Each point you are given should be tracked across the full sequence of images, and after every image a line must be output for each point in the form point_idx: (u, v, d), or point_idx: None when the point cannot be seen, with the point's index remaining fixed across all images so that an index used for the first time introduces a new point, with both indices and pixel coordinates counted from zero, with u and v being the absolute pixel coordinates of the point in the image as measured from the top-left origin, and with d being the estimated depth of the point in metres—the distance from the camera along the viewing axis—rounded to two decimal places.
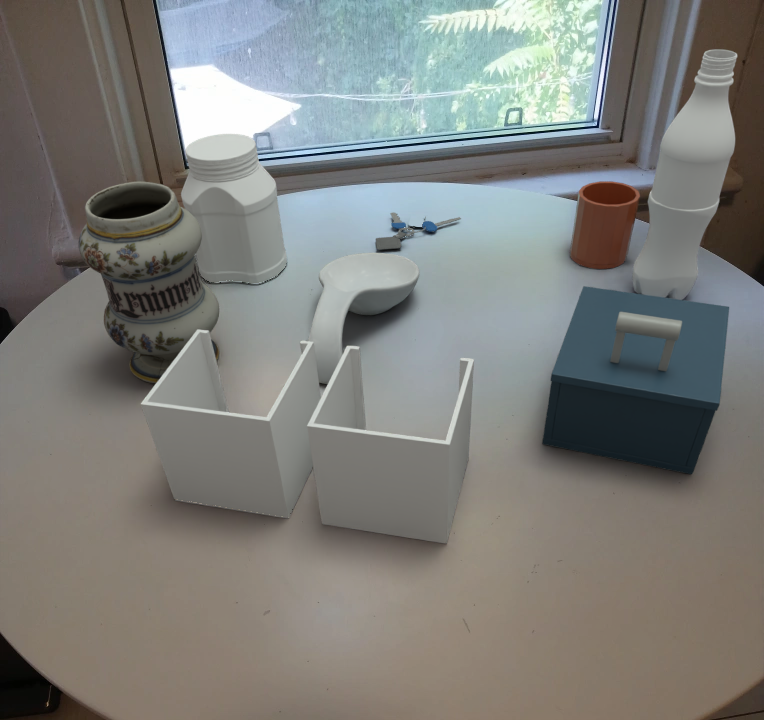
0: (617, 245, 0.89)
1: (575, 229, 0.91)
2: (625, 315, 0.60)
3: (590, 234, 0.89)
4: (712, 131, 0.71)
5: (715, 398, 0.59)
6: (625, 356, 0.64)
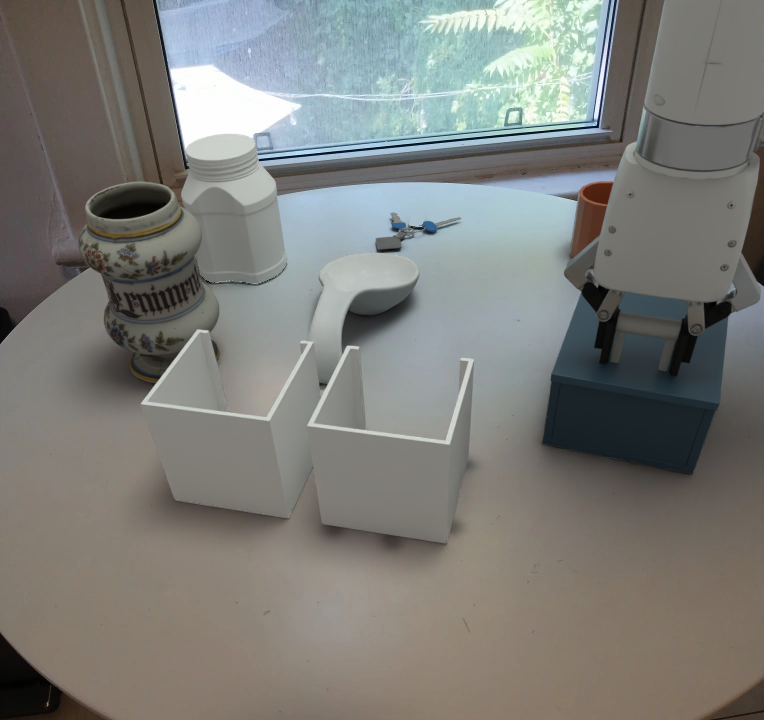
0: None
1: (575, 229, 0.91)
2: (625, 315, 0.60)
3: (590, 234, 0.89)
4: None
5: (715, 398, 0.59)
6: (625, 356, 0.64)
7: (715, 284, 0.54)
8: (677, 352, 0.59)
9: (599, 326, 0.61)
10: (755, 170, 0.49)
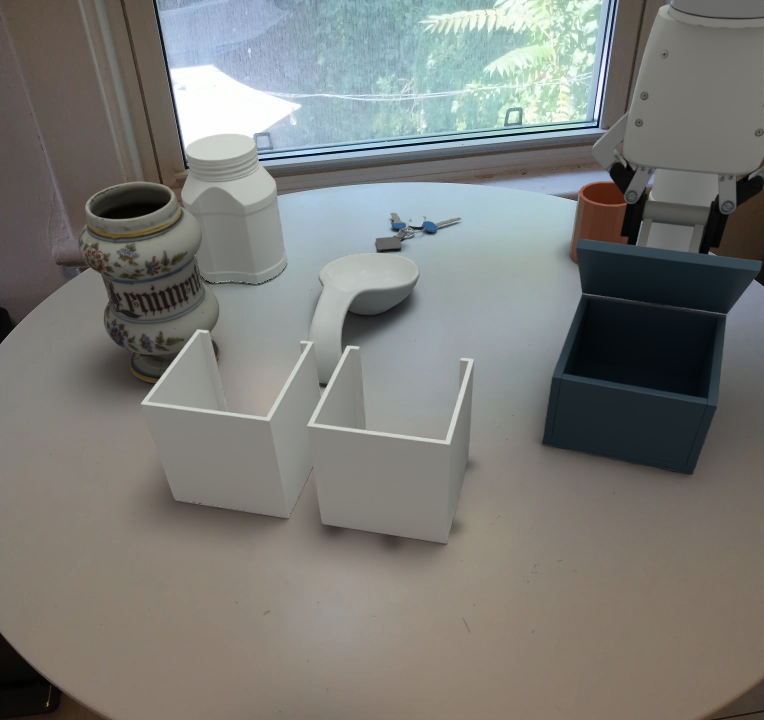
0: None
1: (575, 229, 0.91)
2: None
3: (590, 234, 0.89)
4: None
5: None
6: None
7: (749, 152, 0.53)
8: (707, 234, 0.58)
9: (626, 210, 0.60)
10: None
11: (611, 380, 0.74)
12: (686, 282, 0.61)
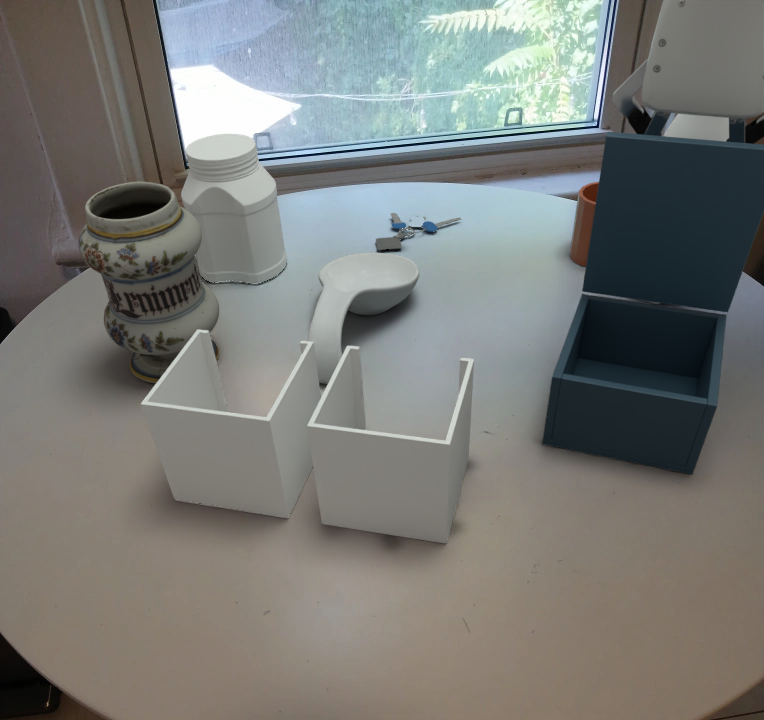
0: None
1: (575, 229, 0.91)
2: None
3: (590, 234, 0.89)
4: (712, 131, 0.71)
5: None
6: None
7: (757, 95, 0.58)
8: None
9: None
10: None
11: (611, 380, 0.74)
12: (702, 213, 0.62)
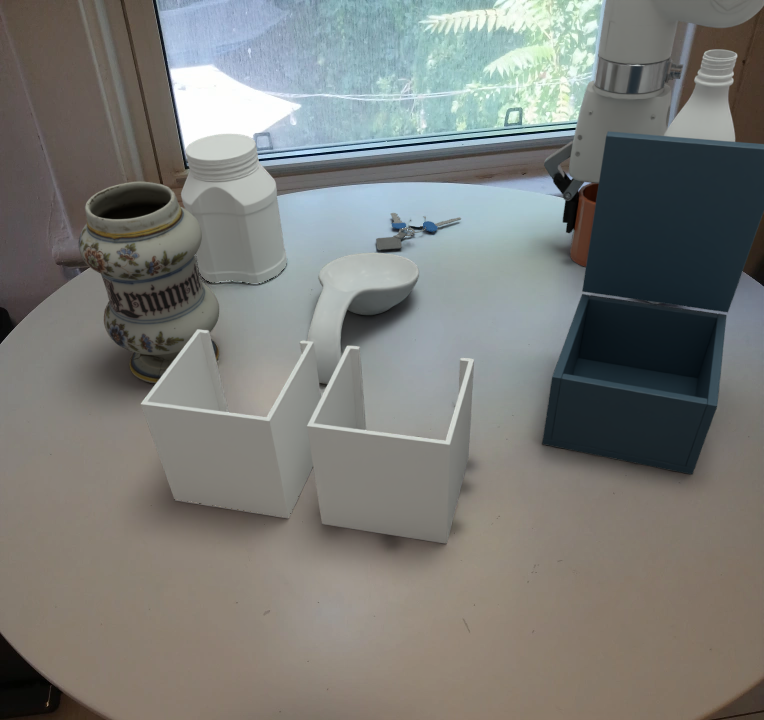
0: None
1: (575, 229, 0.91)
2: None
3: (590, 234, 0.89)
4: (712, 131, 0.71)
5: None
6: None
7: None
8: None
9: (565, 205, 0.90)
10: (667, 94, 0.78)
11: (611, 380, 0.74)
12: (702, 213, 0.62)
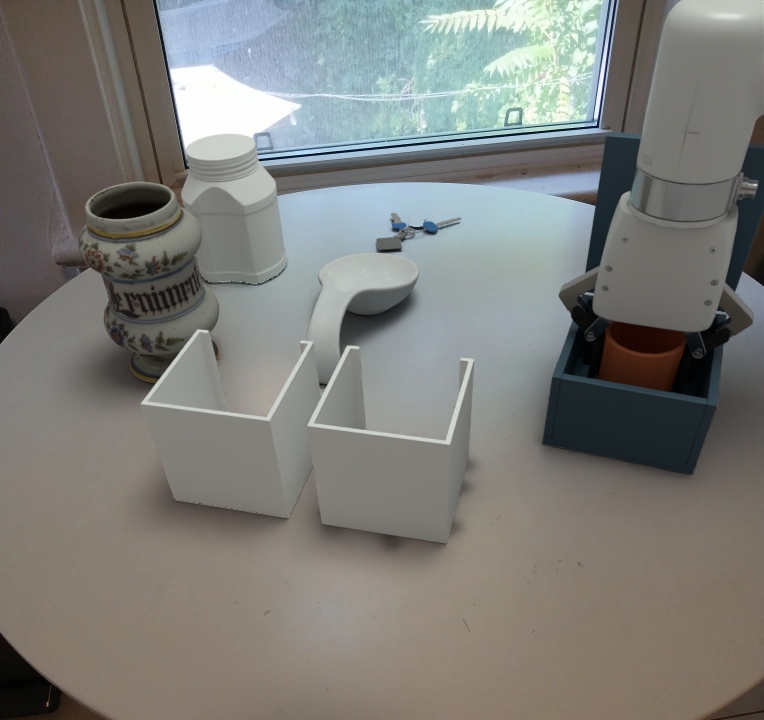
0: None
1: (599, 376, 0.68)
2: None
3: None
4: None
5: None
6: None
7: (700, 317, 0.61)
8: (681, 373, 0.65)
9: (587, 345, 0.68)
10: (734, 220, 0.56)
11: None
12: None
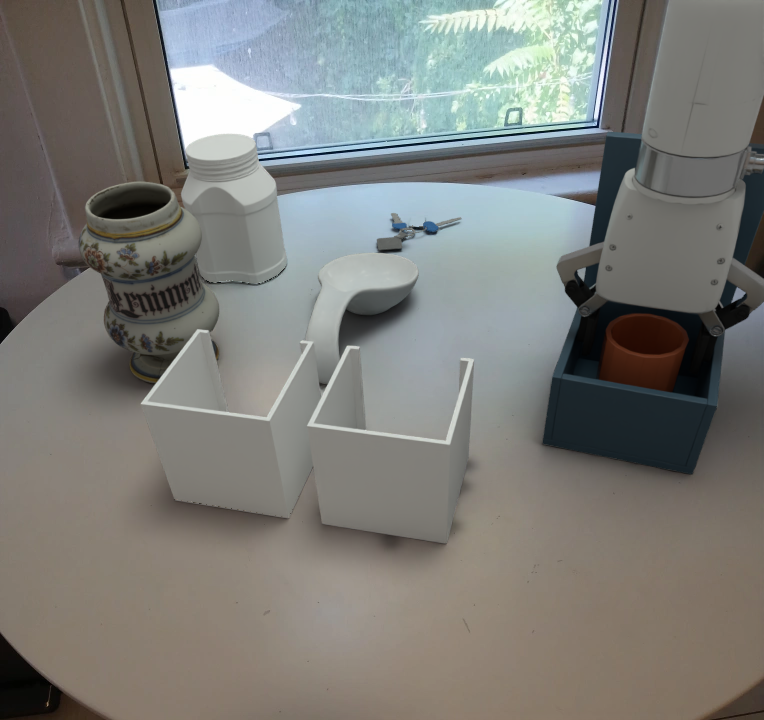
0: None
1: (600, 376, 0.68)
2: None
3: None
4: None
5: None
6: None
7: (706, 297, 0.59)
8: (698, 351, 0.63)
9: (581, 321, 0.66)
10: (741, 196, 0.54)
11: None
12: None
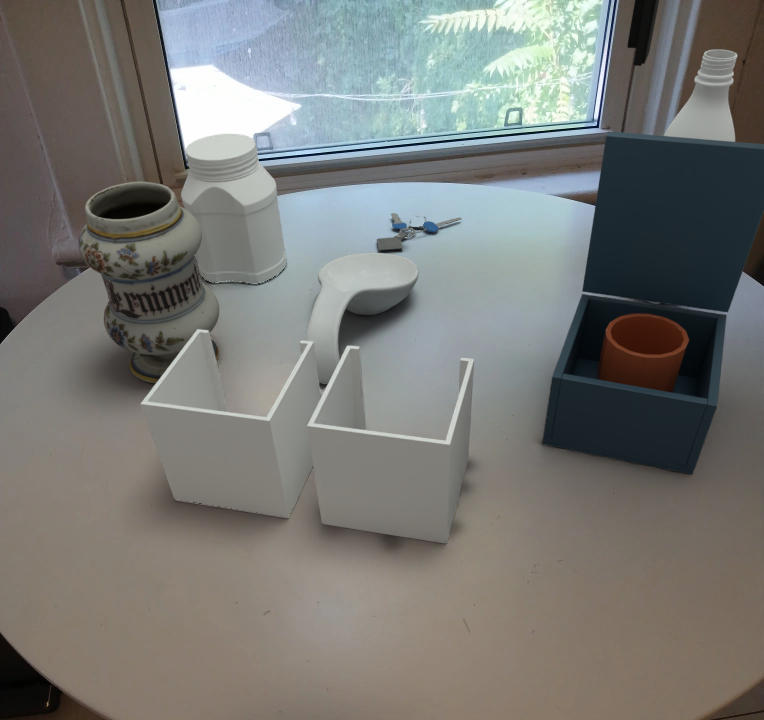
0: None
1: (600, 376, 0.68)
2: None
3: None
4: (712, 131, 0.71)
5: None
6: None
7: None
8: None
9: (635, 9, 0.49)
10: None
11: None
12: (702, 213, 0.62)
